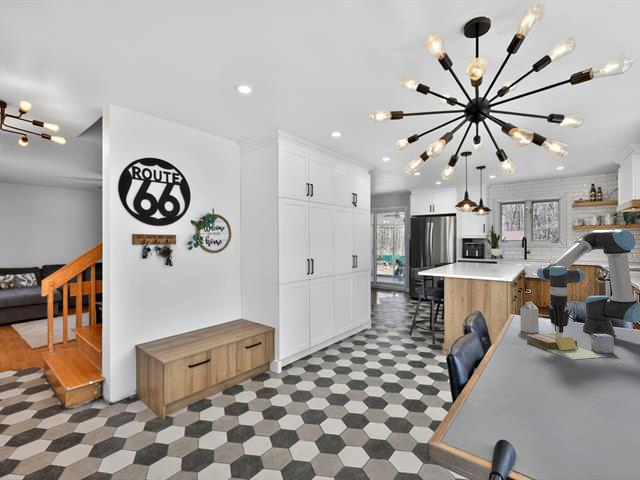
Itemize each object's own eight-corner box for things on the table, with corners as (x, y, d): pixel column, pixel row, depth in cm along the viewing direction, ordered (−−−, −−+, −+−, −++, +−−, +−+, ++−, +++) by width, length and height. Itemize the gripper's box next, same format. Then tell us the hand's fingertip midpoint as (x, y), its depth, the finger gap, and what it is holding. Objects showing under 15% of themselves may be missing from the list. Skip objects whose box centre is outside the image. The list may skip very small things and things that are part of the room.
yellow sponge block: (569, 337, 170) (572, 337, 168) (574, 349, 167) (577, 348, 165) (554, 338, 168) (557, 338, 166) (559, 350, 165) (562, 349, 164)
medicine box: (607, 350, 166) (606, 333, 166) (614, 353, 161) (613, 336, 161) (591, 349, 167) (590, 333, 167) (597, 352, 162) (597, 336, 162)
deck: (554, 340, 184) (553, 333, 184) (577, 347, 170) (577, 340, 170) (527, 341, 181) (526, 335, 181) (548, 350, 167) (548, 342, 167)
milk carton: (520, 330, 203) (520, 301, 203) (527, 329, 206) (526, 300, 206) (531, 333, 197) (531, 303, 197) (538, 332, 200) (538, 302, 200)
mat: (578, 347, 170) (578, 347, 170) (606, 357, 156) (606, 356, 156) (546, 350, 167) (546, 349, 167) (571, 360, 153) (571, 359, 153)
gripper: (542, 293, 176) (542, 335, 176) (563, 297, 163) (564, 342, 163) (553, 292, 177) (554, 334, 177) (576, 296, 165) (576, 341, 164)
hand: (559, 338), depth 170 cm, fingers closed
